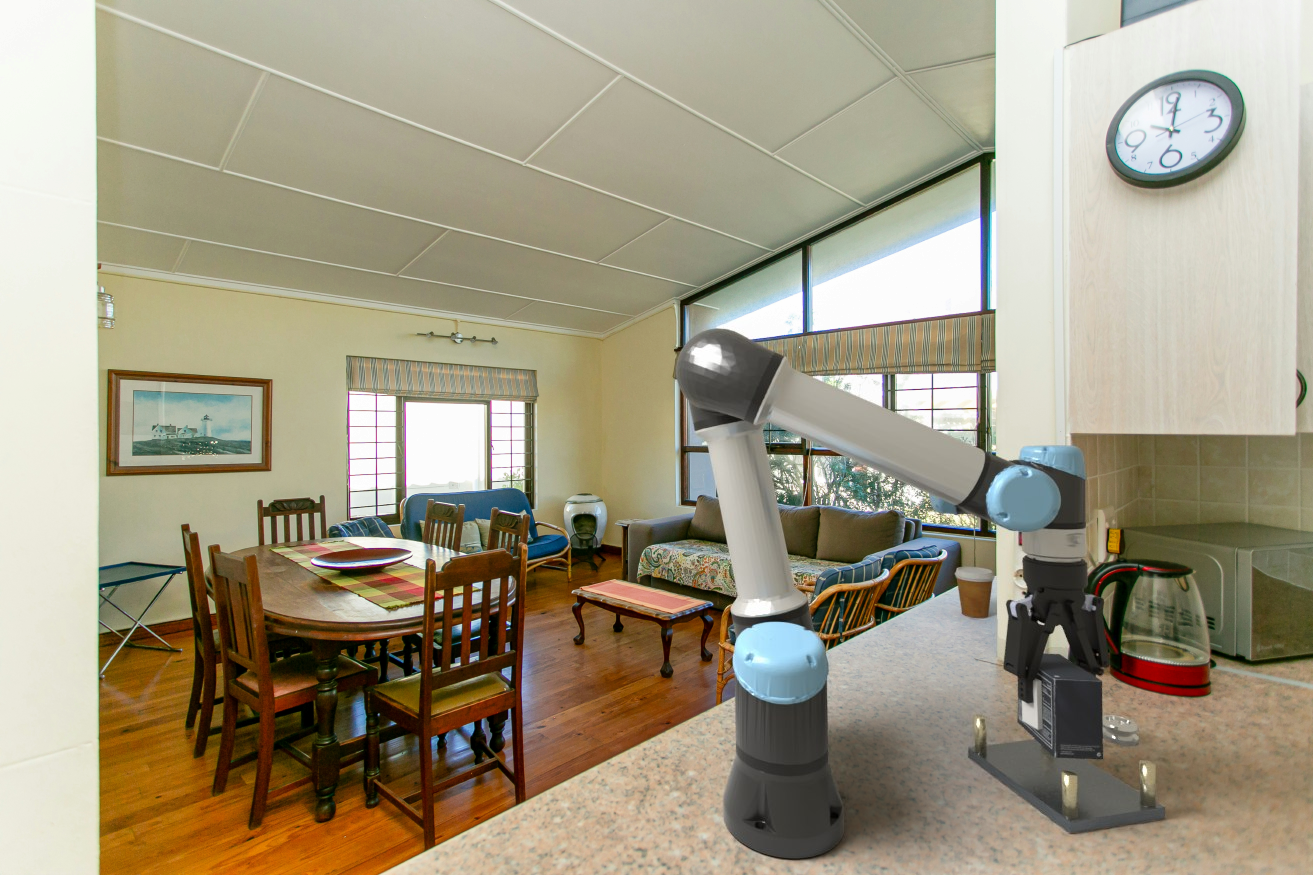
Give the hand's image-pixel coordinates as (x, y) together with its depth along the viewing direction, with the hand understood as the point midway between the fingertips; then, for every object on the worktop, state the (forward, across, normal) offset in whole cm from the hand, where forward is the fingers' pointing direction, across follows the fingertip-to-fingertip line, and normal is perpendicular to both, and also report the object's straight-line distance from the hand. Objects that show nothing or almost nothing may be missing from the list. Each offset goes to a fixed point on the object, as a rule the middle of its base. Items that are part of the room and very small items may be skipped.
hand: (1058, 721), depth 84 cm
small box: (+3, 0, 0) cm, 3 cm away
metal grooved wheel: (+9, +20, +9) cm, 24 cm away
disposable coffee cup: (+9, +44, +72) cm, 85 cm away
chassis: (+9, 0, 0) cm, 9 cm away
